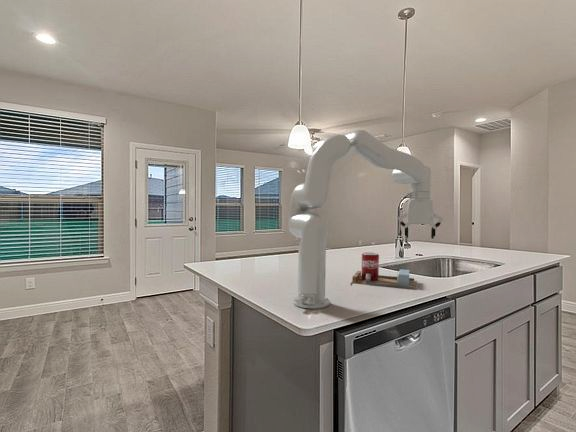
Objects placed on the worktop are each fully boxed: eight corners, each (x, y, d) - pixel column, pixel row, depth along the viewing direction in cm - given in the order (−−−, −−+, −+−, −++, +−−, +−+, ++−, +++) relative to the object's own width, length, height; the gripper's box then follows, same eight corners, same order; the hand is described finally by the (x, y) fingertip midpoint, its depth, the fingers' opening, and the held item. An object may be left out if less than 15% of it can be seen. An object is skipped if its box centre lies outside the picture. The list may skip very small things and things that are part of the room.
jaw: (408, 287, 129) (408, 275, 128) (396, 286, 130) (397, 274, 130) (409, 281, 139) (409, 269, 139) (398, 280, 140) (398, 269, 140)
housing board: (416, 292, 125) (416, 279, 125) (350, 286, 135) (350, 273, 135) (416, 283, 140) (416, 271, 140) (357, 277, 150) (357, 266, 150)
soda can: (379, 283, 135) (379, 255, 135) (361, 282, 137) (362, 254, 136) (377, 279, 142) (378, 252, 142) (361, 278, 144) (361, 251, 143)
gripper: (397, 196, 130) (397, 238, 131) (444, 196, 124) (443, 239, 125) (398, 196, 137) (397, 236, 138) (442, 196, 131) (441, 237, 132)
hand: (419, 237), depth 132 cm, fingers open, 9 cm apart
